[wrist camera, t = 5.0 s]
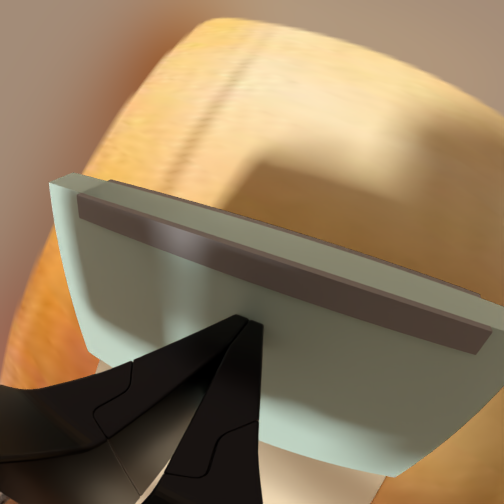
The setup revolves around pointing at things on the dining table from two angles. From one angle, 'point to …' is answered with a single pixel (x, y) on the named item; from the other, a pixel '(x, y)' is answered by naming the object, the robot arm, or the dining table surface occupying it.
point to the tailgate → (284, 320)
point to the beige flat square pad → (301, 477)
